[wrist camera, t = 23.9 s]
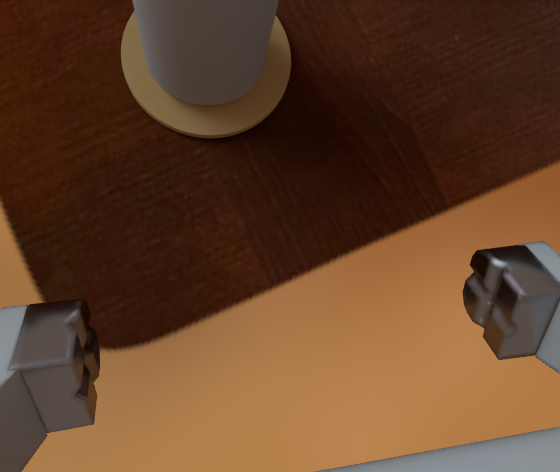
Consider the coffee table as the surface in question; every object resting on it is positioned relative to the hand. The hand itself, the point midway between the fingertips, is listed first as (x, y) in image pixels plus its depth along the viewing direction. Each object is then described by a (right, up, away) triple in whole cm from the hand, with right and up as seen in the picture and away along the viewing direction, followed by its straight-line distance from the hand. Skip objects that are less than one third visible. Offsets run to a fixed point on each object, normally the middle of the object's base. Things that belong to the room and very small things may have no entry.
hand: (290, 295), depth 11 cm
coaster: (-3, +9, +11) cm, 15 cm away
